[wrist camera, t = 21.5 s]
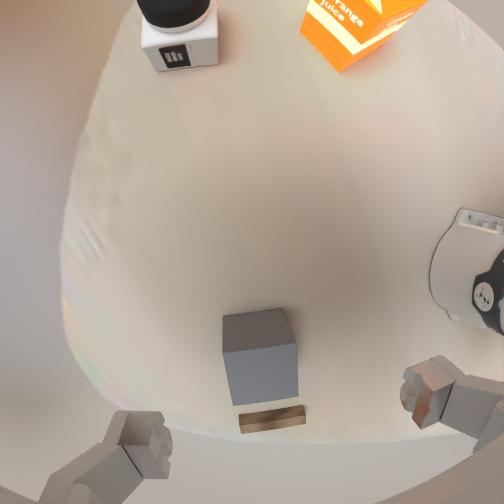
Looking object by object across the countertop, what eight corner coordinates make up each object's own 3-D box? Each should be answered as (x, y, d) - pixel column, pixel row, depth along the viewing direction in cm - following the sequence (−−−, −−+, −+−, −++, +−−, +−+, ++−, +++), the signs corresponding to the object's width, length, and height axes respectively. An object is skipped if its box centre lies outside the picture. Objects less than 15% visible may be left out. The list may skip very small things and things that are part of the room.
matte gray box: (281, 308, 37) (296, 342, 28) (284, 356, 38) (298, 396, 30) (222, 316, 36) (222, 353, 28) (230, 363, 38) (233, 405, 29)
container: (219, 65, 30) (217, 8, 17) (155, 73, 29) (123, 23, 16) (216, 17, 28) (215, -46, 15) (157, 25, 27) (132, -33, 15)
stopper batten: (302, 404, 41) (305, 415, 38) (302, 413, 41) (305, 423, 39) (238, 414, 40) (239, 425, 38) (240, 422, 41) (241, 433, 38)
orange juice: (380, 47, 30) (458, -25, 10) (338, 73, 31) (411, -11, 11) (342, 9, 28) (394, -79, 9) (297, 32, 29) (333, -71, 10)
